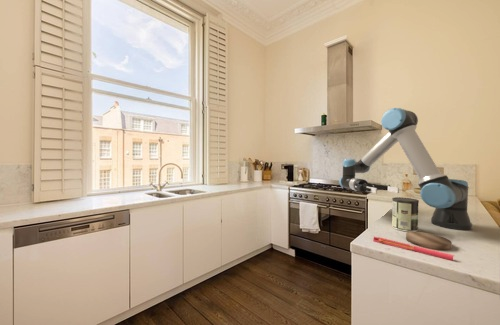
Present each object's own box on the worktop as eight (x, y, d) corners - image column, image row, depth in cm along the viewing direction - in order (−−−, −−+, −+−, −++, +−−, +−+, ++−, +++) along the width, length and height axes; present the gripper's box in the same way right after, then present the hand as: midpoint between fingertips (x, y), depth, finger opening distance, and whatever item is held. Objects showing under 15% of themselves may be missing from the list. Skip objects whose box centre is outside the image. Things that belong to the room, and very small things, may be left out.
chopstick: (375, 241, 91) (371, 241, 88) (376, 236, 91) (372, 235, 88) (454, 261, 74) (454, 261, 71) (455, 255, 74) (454, 255, 71)
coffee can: (411, 226, 109) (411, 197, 108) (422, 233, 99) (423, 201, 98) (387, 224, 111) (388, 196, 110) (397, 231, 101) (398, 200, 100)
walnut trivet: (427, 235, 95) (427, 231, 95) (462, 249, 81) (462, 244, 81) (397, 236, 93) (397, 232, 93) (427, 250, 79) (428, 245, 79)
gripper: (376, 190, 138) (406, 197, 117) (340, 191, 132) (366, 198, 111) (376, 178, 137) (407, 183, 117) (341, 178, 132) (367, 183, 111)
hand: (387, 190), depth 114 cm, fingers open, 13 cm apart
